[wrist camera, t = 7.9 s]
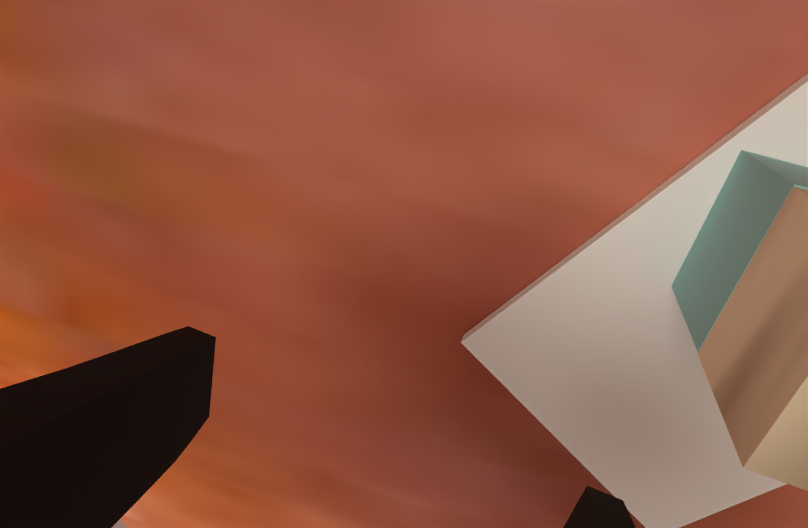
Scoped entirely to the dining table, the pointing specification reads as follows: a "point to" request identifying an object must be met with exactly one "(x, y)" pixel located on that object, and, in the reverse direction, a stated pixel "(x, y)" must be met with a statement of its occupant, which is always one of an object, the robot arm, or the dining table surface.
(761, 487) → the plate
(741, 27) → the dining table surface
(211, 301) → the dining table surface
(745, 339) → the maple block
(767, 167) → the teal block
